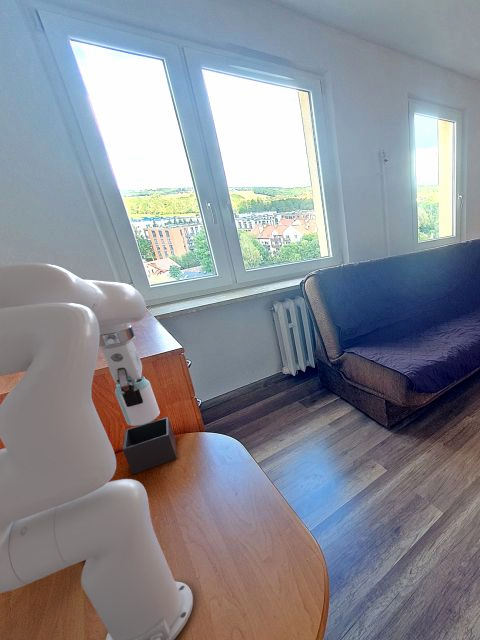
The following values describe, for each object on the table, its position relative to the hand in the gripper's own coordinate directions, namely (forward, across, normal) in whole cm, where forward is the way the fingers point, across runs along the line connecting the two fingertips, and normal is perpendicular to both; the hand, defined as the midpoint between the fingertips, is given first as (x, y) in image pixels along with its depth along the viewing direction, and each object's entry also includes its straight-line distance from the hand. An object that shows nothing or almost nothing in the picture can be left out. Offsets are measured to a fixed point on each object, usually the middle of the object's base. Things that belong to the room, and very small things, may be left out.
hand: (136, 397), depth 88 cm
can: (+7, 0, 0) cm, 7 cm away
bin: (+23, +4, +1) cm, 23 cm away
